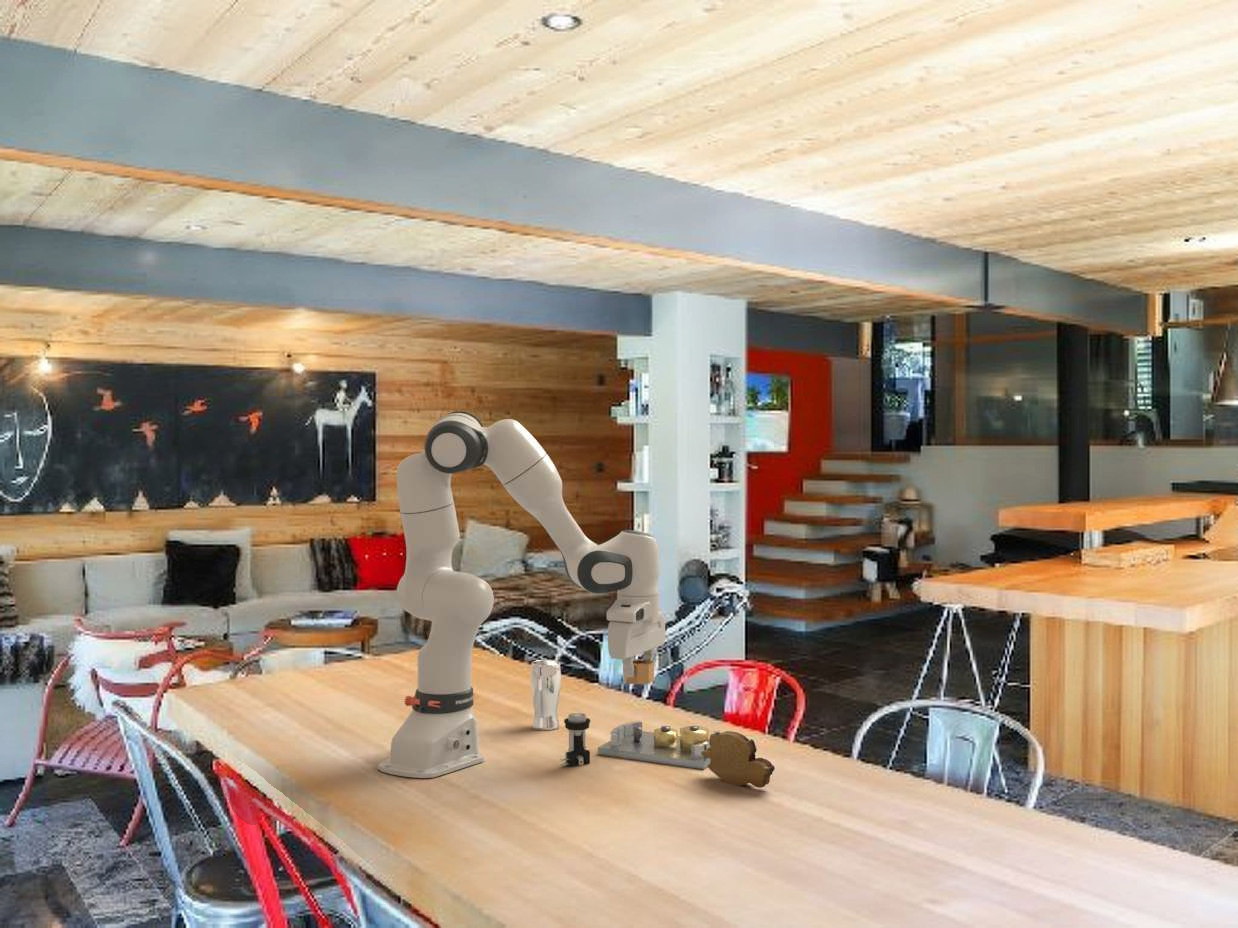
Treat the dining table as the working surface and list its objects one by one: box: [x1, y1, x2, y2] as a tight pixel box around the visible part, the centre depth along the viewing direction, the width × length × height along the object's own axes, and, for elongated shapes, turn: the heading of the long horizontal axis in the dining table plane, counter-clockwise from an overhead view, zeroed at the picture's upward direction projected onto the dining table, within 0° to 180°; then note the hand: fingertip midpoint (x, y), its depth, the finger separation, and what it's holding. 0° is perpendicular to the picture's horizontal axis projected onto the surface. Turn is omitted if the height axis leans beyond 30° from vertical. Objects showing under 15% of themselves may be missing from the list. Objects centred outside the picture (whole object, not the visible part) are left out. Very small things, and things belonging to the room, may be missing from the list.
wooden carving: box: [701, 730, 775, 789], centre depth 212 cm, size 16×5×10 cm, turn 49°
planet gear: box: [622, 658, 655, 686], centre depth 231 cm, size 6×6×4 cm
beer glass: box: [530, 659, 562, 731], centre depth 254 cm, size 7×7×15 cm
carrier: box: [597, 720, 721, 770], centre depth 234 cm, size 16×24×6 cm, turn 64°
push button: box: [560, 712, 591, 768], centre depth 224 cm, size 7×5×10 cm
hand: (638, 673), depth 231 cm, fingers closed on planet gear, 6 cm apart
